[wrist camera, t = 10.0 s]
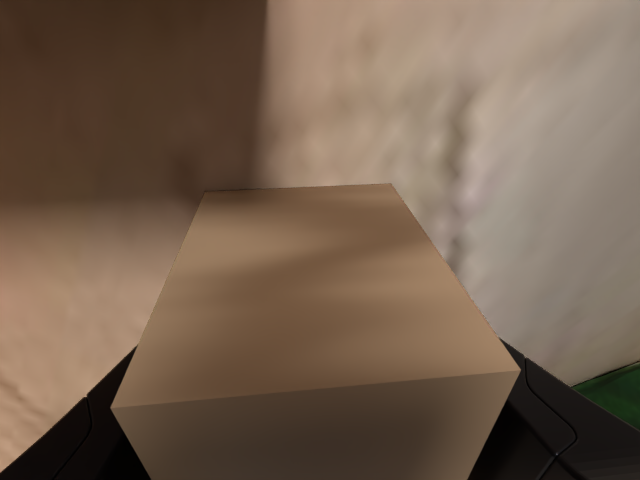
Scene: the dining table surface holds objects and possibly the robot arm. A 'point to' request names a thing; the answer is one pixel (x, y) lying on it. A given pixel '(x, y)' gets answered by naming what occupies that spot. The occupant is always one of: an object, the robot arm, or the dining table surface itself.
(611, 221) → the dining table surface
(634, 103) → the dining table surface
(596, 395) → the box
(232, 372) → the walnut block
